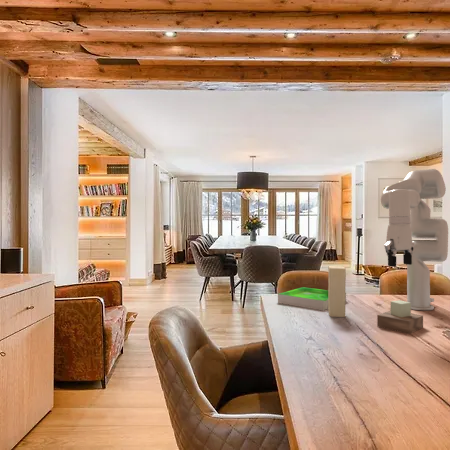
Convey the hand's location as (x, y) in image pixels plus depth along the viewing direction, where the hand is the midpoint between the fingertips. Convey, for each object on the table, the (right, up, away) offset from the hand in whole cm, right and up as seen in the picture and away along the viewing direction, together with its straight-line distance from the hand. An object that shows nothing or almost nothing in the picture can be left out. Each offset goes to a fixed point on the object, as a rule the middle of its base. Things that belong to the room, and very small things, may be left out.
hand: (400, 265), depth 143 cm
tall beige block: (-19, -24, +18) cm, 35 cm away
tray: (-24, -24, +44) cm, 56 cm away
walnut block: (0, -24, -1) cm, 24 cm away
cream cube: (0, -19, -1) cm, 19 cm away
